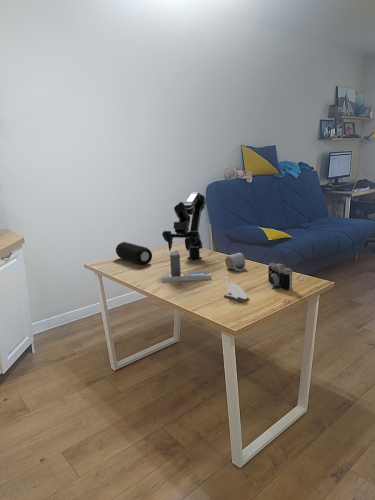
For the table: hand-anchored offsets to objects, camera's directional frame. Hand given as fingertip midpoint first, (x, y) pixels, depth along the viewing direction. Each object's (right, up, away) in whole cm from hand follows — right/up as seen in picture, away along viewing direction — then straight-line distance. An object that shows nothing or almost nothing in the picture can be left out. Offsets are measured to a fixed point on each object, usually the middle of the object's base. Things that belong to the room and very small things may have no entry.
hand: (178, 250), depth 177 cm
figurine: (+23, -19, -30) cm, 42 cm away
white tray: (+4, -13, -3) cm, 14 cm away
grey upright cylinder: (-1, -13, -3) cm, 13 cm away
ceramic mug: (+30, -10, +7) cm, 32 cm away
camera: (+44, -16, -19) cm, 50 cm away
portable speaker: (-26, -7, +30) cm, 41 cm away
